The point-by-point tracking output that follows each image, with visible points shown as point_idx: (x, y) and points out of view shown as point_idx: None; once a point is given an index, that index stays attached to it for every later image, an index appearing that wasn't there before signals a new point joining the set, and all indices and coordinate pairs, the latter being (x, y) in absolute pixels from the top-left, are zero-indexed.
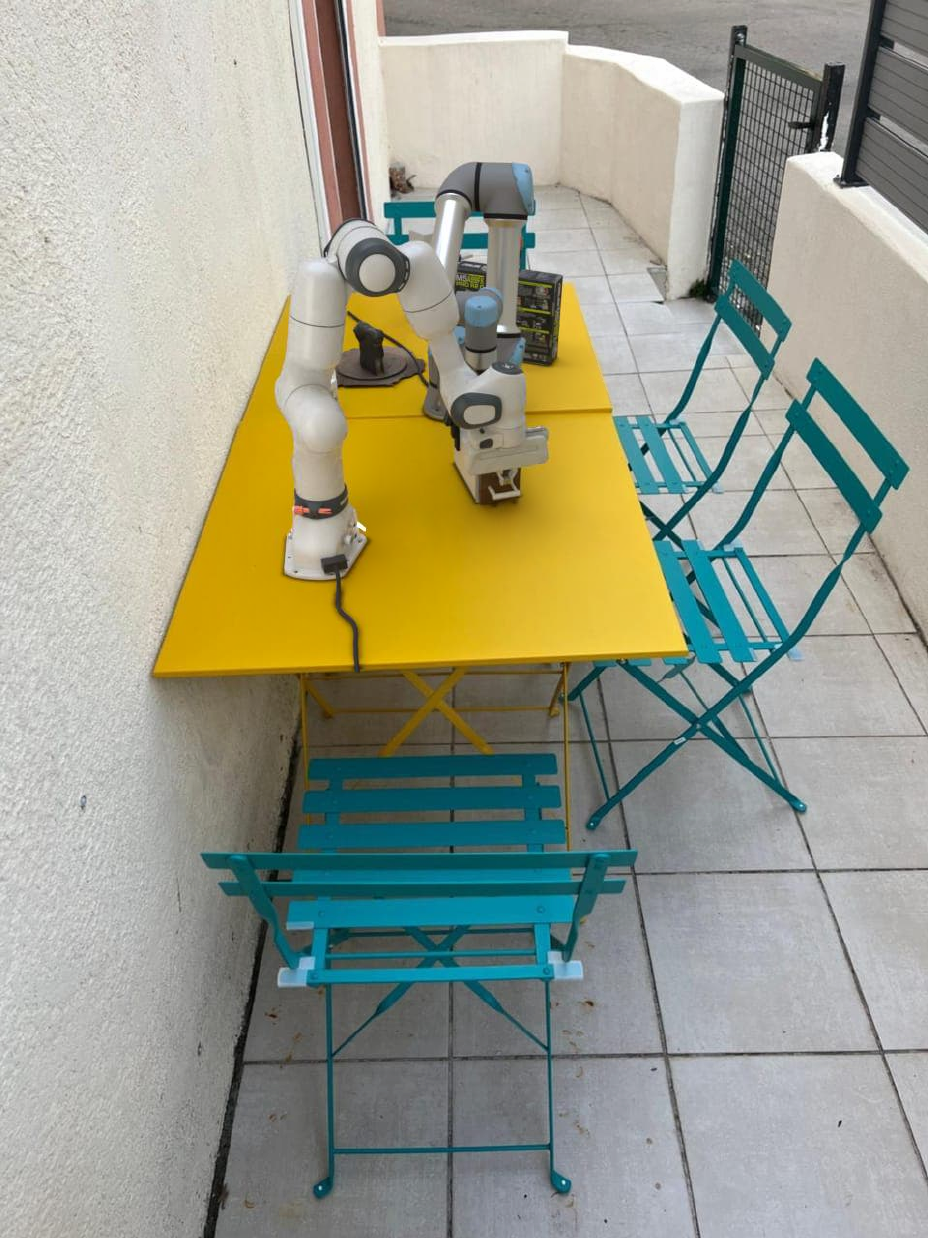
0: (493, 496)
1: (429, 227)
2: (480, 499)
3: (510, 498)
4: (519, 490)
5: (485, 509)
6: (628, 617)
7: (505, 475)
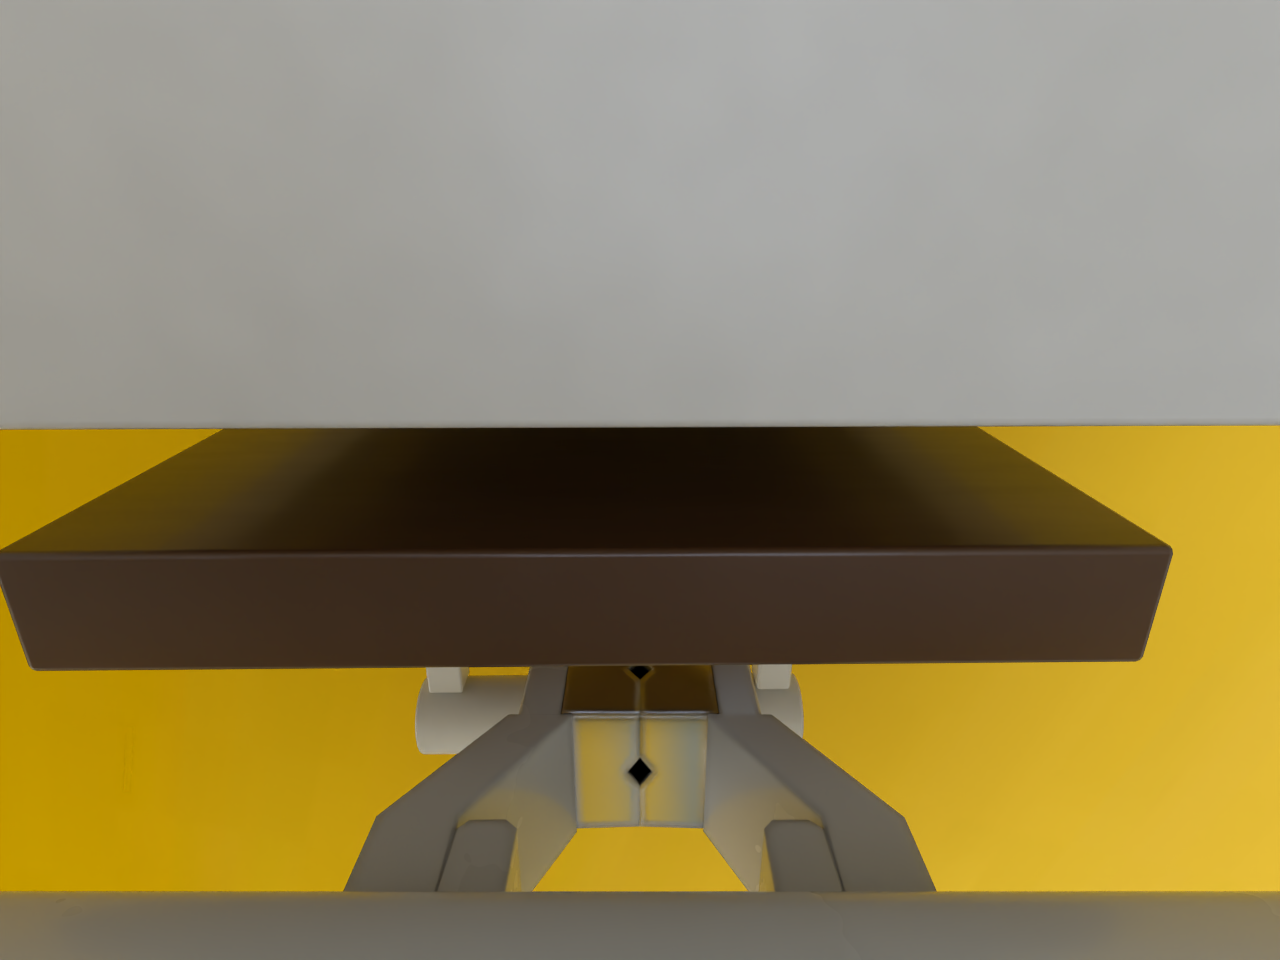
0: (420, 745)
1: None
2: None
3: None
4: (799, 732)
5: None
6: None
7: (648, 720)
